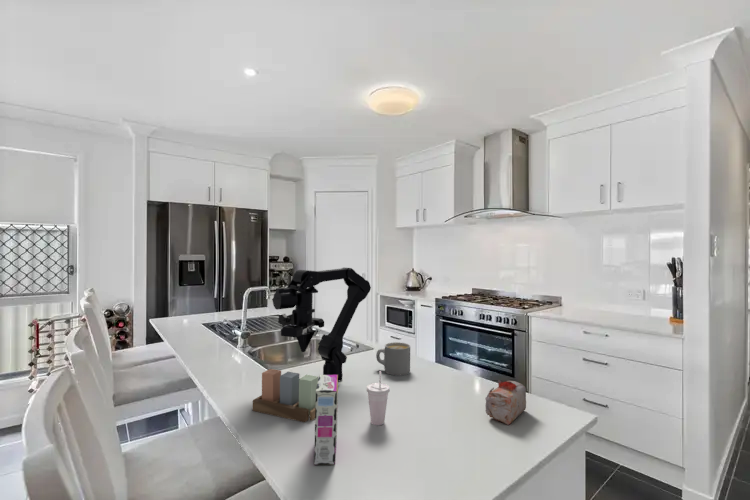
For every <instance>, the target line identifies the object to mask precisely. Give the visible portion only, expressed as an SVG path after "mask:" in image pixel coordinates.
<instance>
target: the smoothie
mask: <svg viewBox="0 0 750 500" xmlns="http://www.w3.org/2000/svg"><path fill="white" fill-rule="evenodd" d="M378 373H379V376H378V382H373V383H369V384H368V385H366V393H367V395H368V396H367V397H368V398H367V399H368V407H369V415H370V416H369V417H370V423H371V425H374V426H381V425H384V424H385V421H386V420H385V419H386V413H387V405H388V399H389V393H390V385H388V384H386V383H383V382H382V371H381V370H379V371H378Z"/></svg>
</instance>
